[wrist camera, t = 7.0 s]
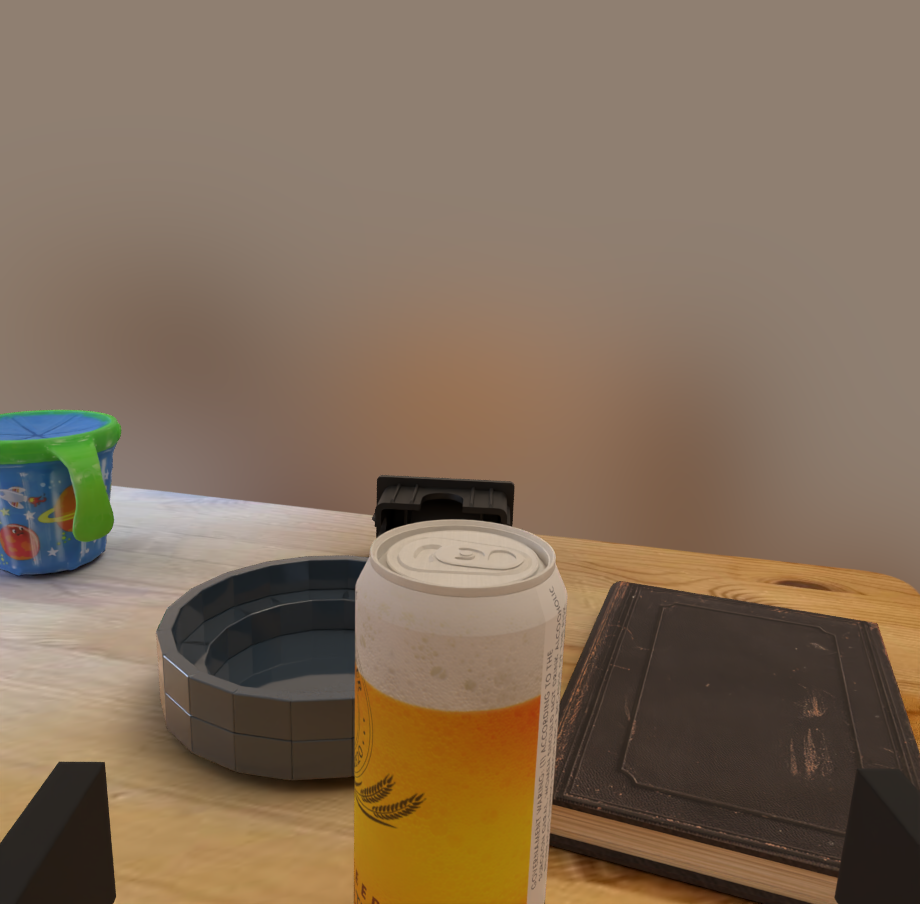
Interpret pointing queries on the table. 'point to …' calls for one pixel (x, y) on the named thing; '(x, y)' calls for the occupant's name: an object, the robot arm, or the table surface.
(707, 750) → the hardcover book
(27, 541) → the snack cup
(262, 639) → the bowl
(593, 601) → the table surface
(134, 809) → the table surface
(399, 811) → the beer can
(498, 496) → the end cap
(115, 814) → the table surface
